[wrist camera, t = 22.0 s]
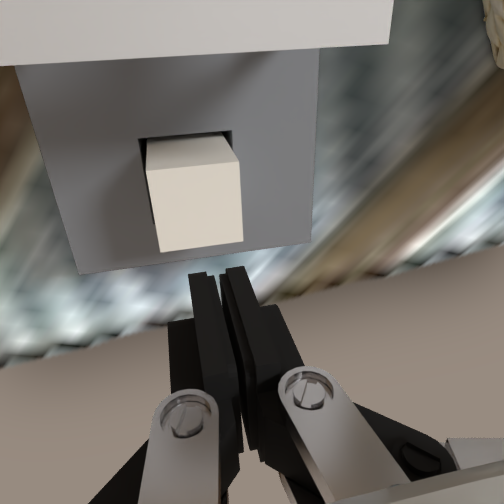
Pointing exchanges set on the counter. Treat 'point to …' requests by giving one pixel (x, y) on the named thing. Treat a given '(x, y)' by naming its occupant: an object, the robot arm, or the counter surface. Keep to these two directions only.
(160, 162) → the on button
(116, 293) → the counter surface
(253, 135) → the grey housing
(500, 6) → the storage basket
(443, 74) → the counter surface
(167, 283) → the counter surface
